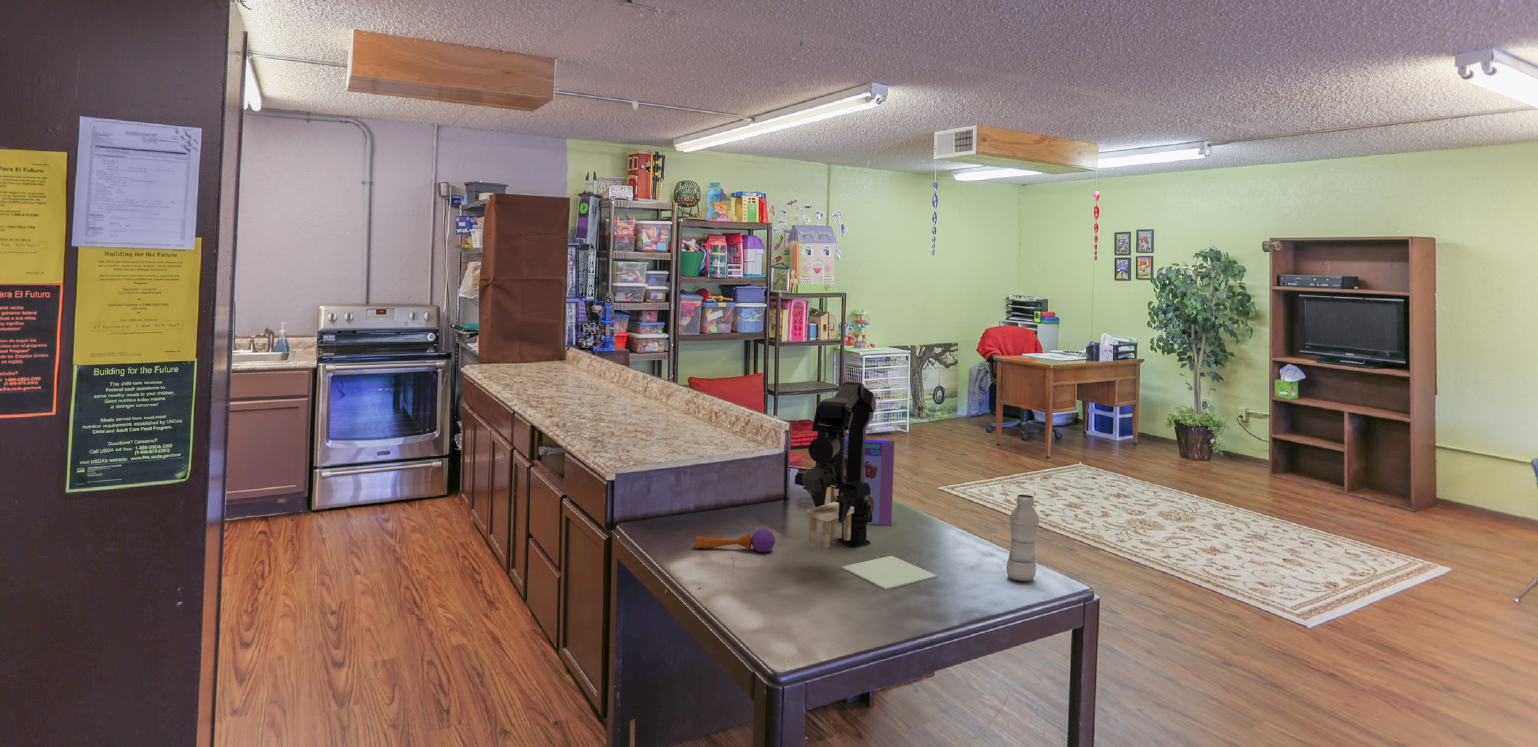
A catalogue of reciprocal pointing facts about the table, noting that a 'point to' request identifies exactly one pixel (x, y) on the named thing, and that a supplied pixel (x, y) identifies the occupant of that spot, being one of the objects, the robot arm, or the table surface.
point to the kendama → (741, 541)
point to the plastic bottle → (1023, 540)
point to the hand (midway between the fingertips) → (830, 519)
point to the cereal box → (876, 478)
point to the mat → (889, 572)
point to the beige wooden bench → (828, 522)
